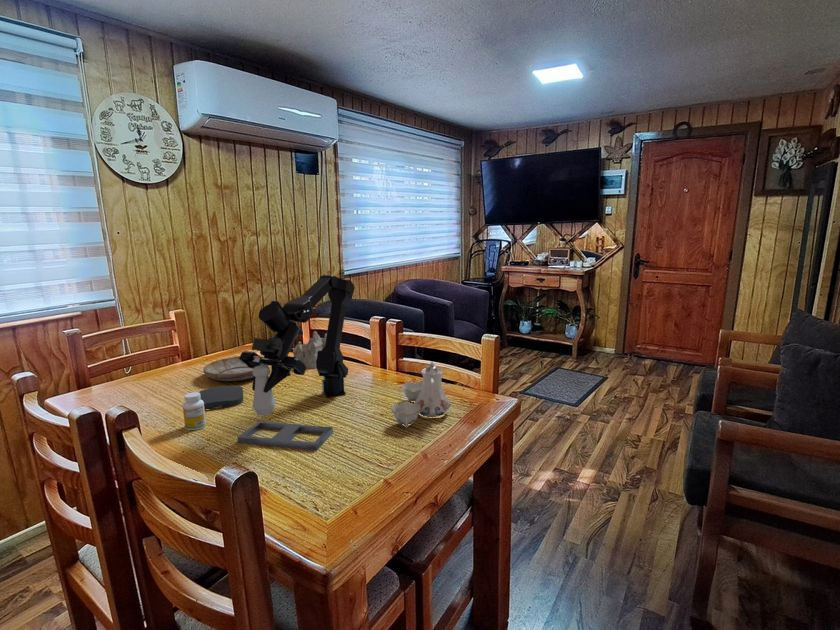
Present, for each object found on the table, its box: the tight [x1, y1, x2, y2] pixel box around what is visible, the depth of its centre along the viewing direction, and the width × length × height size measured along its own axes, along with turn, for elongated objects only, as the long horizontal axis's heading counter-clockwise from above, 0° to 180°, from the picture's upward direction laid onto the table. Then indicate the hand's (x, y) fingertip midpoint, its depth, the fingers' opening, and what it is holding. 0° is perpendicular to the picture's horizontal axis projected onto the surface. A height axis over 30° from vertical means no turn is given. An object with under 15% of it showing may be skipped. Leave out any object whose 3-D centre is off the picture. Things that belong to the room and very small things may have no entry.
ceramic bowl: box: [203, 355, 269, 382], centre depth 172 cm, size 23×24×5 cm
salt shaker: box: [252, 365, 276, 417], centre depth 120 cm, size 6×6×13 cm
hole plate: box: [236, 420, 334, 451], centre depth 121 cm, size 22×10×2 cm, turn 78°
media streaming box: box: [198, 385, 244, 410], centre depth 147 cm, size 15×15×3 cm
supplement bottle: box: [182, 391, 207, 431], centre depth 127 cm, size 5×5×10 cm
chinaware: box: [391, 361, 451, 429], centre depth 135 cm, size 28×17×17 cm, turn 178°
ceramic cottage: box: [292, 331, 327, 369], centre depth 187 cm, size 16×16×15 cm
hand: (259, 391), depth 119 cm, fingers closed on salt shaker, 3 cm apart
